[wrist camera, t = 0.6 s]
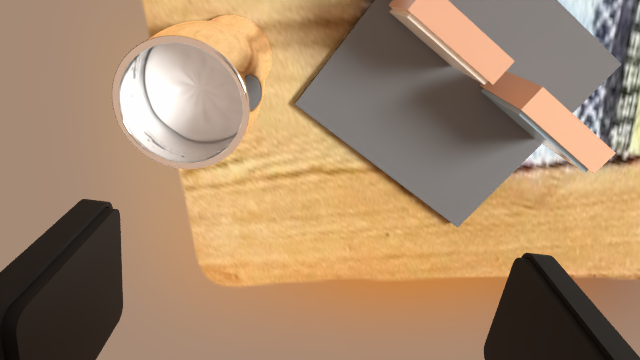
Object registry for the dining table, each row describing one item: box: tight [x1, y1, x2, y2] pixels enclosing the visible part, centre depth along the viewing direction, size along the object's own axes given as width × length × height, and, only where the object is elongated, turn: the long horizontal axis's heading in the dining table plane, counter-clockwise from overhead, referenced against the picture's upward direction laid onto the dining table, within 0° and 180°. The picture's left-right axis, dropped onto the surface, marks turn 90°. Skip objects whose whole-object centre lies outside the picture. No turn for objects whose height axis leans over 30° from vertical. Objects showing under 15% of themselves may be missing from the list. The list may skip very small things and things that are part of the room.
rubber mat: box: [295, 0, 621, 227], centre depth 36 cm, size 18×18×1 cm
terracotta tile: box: [388, 0, 515, 85], centre depth 31 cm, size 2×7×8 cm, turn 52°
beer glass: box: [112, 15, 272, 169], centre depth 29 cm, size 7×7×15 cm
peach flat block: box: [480, 71, 616, 173], centre depth 33 cm, size 2×7×8 cm, turn 52°
